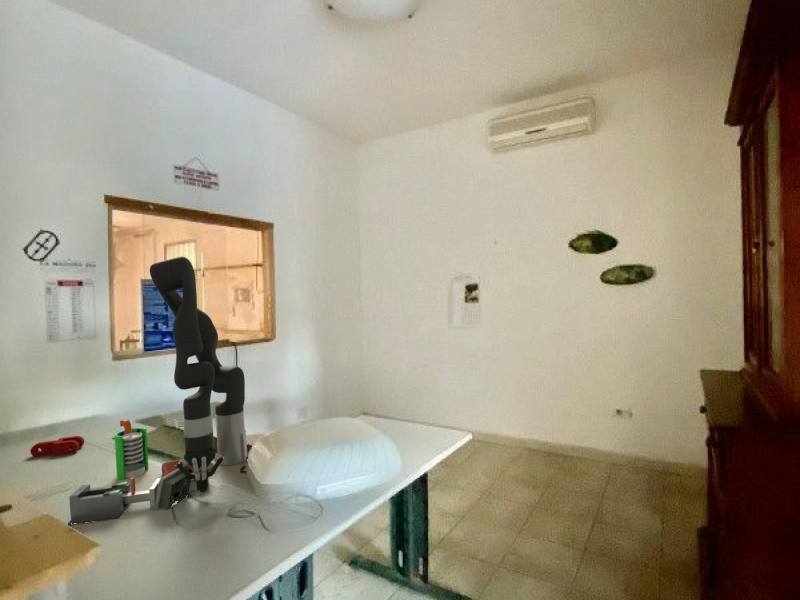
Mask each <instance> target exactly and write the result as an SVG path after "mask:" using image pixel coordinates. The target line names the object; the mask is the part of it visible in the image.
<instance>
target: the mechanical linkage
mask: <svg viewBox="0 0 800 600" xmlns="http://www.w3.org/2000/svg"><path fill="white" fill-rule="evenodd" d="M84 445H85V438H84V437H82V436H81V435H75V436H67V437H60V438H58V439H56V440H55V439H54V440H47V441H41V442H37V443H35V444H34V445H33V446H31V448H30V451H29V452H30V455H31V456H32V457H35V458H39V457H45V456H52V457H58V456H59V457H60V456H67V455H74V454H75V453H76V452H77V451H79V449H81V448H82V447H83V446H84Z"/></svg>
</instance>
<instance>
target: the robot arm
mask: <svg viewBox="0 0 800 600" xmlns="http://www.w3.org/2000/svg"><path fill="white" fill-rule="evenodd" d="M149 274H150V278H151V280H152V283H153V285H154V286H155V289H156V290H157V291H158V292H159V294H160V296H161V297H162V300H164V301H165V304H166V305H167V307H168V308H169V309H170V311H171V312H172V314H173V316H174V321H173V325H172V336H173V340H174V347H175V354H176V355H175V368H174V372H173V374H174V375H173V381H174V384H175V386H176V387H177V388H178V389H180V390H184V391H185V390H186V391H187V390H190V389H196V388H198V390H197V392H195V393H194V394H192V395H188V396H187V397H186V398H184V400H183V405H182V407H183V418H184V421H183V435H184V448H185V452H184V456H183V458H184V459H183V458H181V459H182V460H181V461H179V462H178V464H177V468H178V469H179V470H181V471H182V472H183V473H184V474H185V475H186V476H187V477H188V478H189V479H195V480H196V482H197V490H196V491H197V492H199V494H201V493H205V492H207V490H208V489H209V487H210V484H209V485H208V479H209V478H210V477H213V475H214V474H215V473H216V471H217V470H218V469H219V467H220V466H234V465H237V464H241V463H245V462H246V460H247V458H248V444H247V431H246V429H245V428H246V427H245V426H246V425H245V413H244V412H245V411H244V405H245V399H246V397H245V396H246V392H245V391H246V390H245V389H246V385H245V384H246V382H245V381H246V380H245V373H244V371H243V369H242V368H241V367H239V366H231V365H230V366H229V365H227V366H225V365H224V366H223V365H222V364H221V362H220V361H219V359H218V356H217V351H216V350H217V346H218V341H219V333H218V330H217V329H216V327H215V324H214V323H213V320H212V319H211V316H209V315H208V314H207V313H206V312H204V311H203V310H202V309H200V308H198V300H197V299H198V298H197V296H198V295H197V278H196V273H195V269H194V266H193V263H192V262H191V260H190V259H189V258H187V257H186V256H177V257H174V258H169V259H165V260H162V261H158V262H155V263H153V264H151V265H150V267H149ZM180 289H182V296H181V294H180V293H179V292H178V291H177V290H180ZM194 356H195V357H196V359H197V361H198V362H192V363H188V360H189V358H191V357H194ZM212 392H214V393H216V394H226V395H225V401H222V402H220V403H218V404H216V405H215V407H214V411H215V413H214V414H215V430H216V447H217V450H216V448H215V439H214V426H213V417H212V410H211V396H212ZM246 457H247V458H246ZM213 459H214V464H213V466H212V467H211V469H209V466H210V464H211V463H212V461H213ZM186 461H187V462H188V463H189V464H190V465H191V467H193V469H194V471H193V470H192V469H191V468H190V467H189V466H187V462H186ZM201 467H202V472H201ZM208 486H209V487H208Z"/></svg>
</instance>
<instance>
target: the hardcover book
mask: <svg viewBox="0 0 800 600" xmlns="http://www.w3.org/2000/svg"><path fill="white" fill-rule="evenodd" d="M182 459H184V457H183V458H180V459H179V458H178V459H175V460H171V461H167V462H162V464H161V471H162V472H161V473H162V477H164V476H165V475H167V474H169V473H171V472H173V471H174V470H176V469H178V468H177V464H178V462H179V461H181V460H182ZM186 462H187V461H186ZM187 466H189V467H190V468H191V469H192V470H193V471H194V469H193V467H191V465H190V464H189V463H188V462H187ZM201 472H202V467H201ZM209 479H210V478H208V485H209V486H210V483H209ZM186 483H187V482H186ZM186 483H185V484H186ZM189 491H191V492H195V491H198V490H197V482H196V480H195V479H191V483H190V488H189Z"/></svg>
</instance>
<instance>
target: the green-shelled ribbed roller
mask: <svg viewBox="0 0 800 600" xmlns="http://www.w3.org/2000/svg"><path fill="white" fill-rule="evenodd" d="M119 425H120V427H123V428H124V429H122V430H119V431H118V432H116V433H115V434H114V449H115V465H116V467H115V469H116V478H117V479H118V480H125V479H131V478H133V477H134V478H135V477H138V476H141V475H143V474H145V472H146V471H147V470H149V453H148V451H149V450H148V431H147V428H145V427H132V423H131V421H130V419H126V418H125V419H121V420H119Z"/></svg>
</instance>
